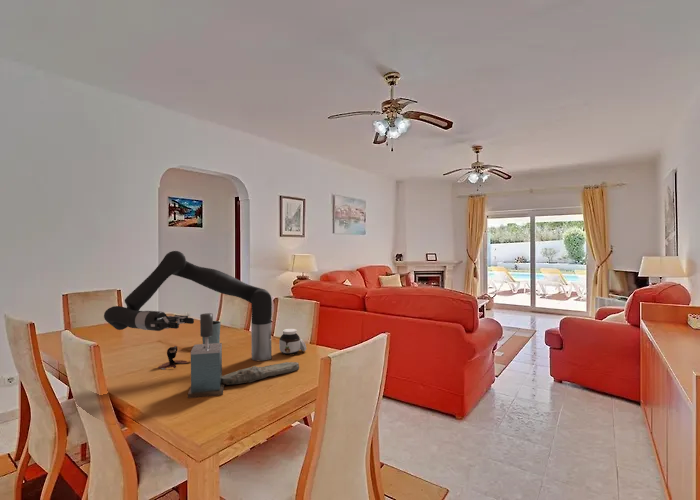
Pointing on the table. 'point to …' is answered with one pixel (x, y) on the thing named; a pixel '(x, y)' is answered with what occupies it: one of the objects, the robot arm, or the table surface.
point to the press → (206, 371)
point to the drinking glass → (214, 333)
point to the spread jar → (291, 342)
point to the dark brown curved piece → (171, 359)
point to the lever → (206, 326)
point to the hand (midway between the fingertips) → (186, 323)
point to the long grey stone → (258, 373)
